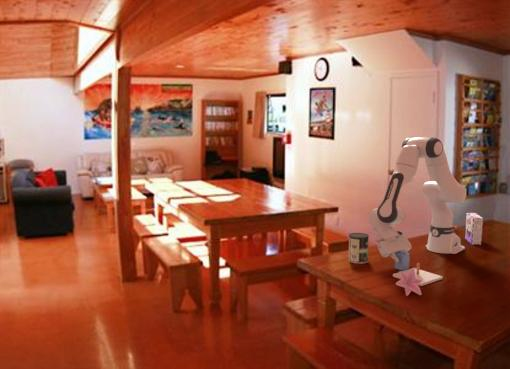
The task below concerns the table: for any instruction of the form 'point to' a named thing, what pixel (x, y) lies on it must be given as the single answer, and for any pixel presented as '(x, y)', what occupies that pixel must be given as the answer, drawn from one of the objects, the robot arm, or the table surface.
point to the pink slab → (421, 275)
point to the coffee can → (358, 248)
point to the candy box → (474, 228)
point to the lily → (409, 282)
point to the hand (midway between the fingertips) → (403, 260)
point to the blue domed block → (402, 260)
